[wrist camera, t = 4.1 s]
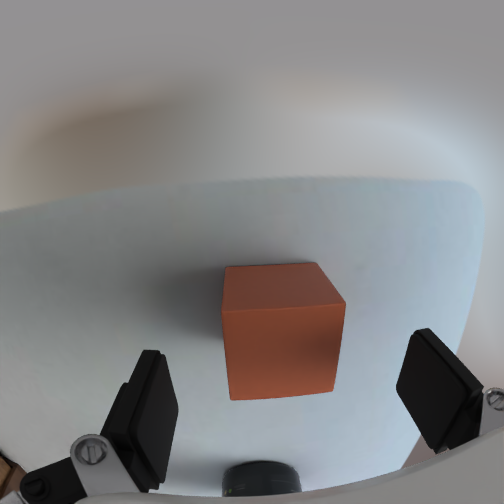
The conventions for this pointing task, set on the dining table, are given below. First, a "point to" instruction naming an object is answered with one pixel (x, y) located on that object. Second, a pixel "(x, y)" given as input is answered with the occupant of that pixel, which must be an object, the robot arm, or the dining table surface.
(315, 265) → the block
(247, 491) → the supplement bottle
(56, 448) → the dining table surface
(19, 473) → the cabinet
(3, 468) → the drawer
